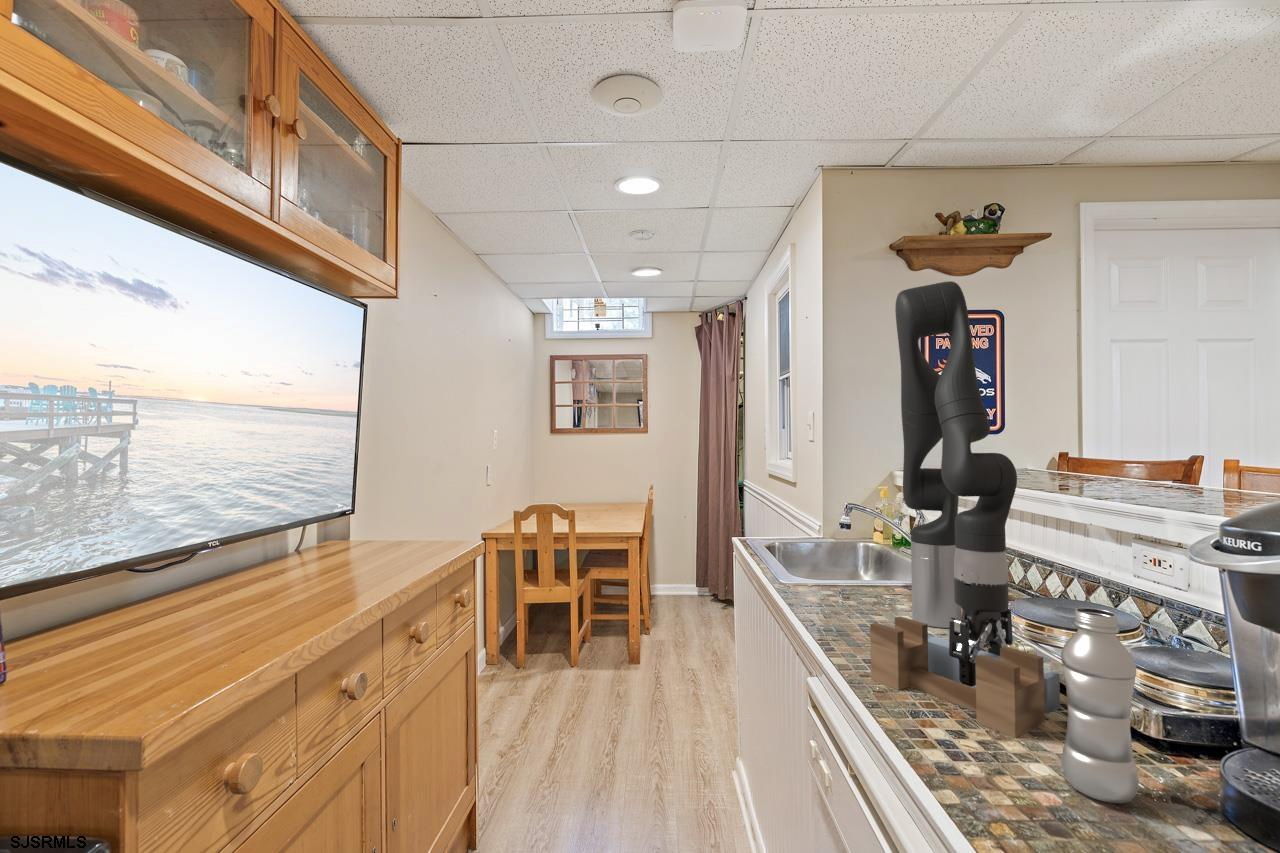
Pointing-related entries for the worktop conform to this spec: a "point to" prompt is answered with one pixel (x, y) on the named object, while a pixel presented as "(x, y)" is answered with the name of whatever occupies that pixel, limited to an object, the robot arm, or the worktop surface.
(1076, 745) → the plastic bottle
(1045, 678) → the rail
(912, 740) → the worktop surface
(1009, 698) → the wooden notched stand
